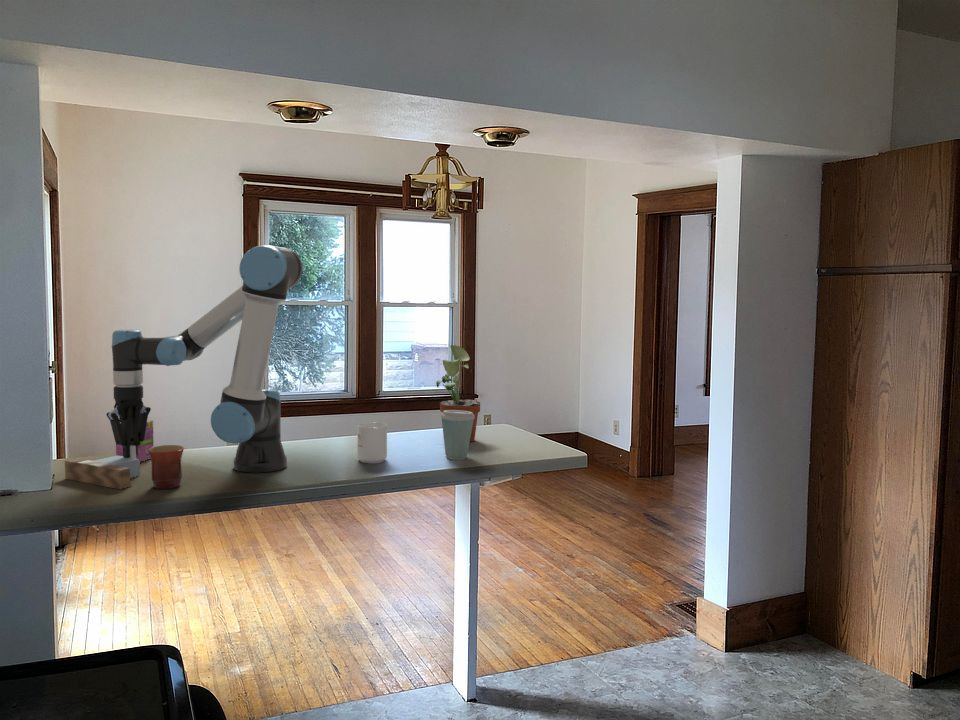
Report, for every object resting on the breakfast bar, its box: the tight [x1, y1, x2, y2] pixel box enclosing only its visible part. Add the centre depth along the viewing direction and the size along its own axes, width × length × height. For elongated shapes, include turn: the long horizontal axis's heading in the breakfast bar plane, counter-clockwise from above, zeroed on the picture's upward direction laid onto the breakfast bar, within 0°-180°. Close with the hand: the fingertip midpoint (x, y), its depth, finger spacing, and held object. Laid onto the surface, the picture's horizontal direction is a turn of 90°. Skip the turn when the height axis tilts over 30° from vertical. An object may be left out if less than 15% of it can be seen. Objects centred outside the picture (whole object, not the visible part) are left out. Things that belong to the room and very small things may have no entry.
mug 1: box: [148, 444, 185, 490], centre depth 207 cm, size 12×9×10 cm
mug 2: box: [357, 421, 388, 464], centre depth 239 cm, size 12×9×11 cm
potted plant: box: [435, 344, 481, 443], centre depth 268 cm, size 16×15×35 cm
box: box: [115, 419, 155, 463], centre depth 233 cm, size 10×6×12 cm, turn 168°
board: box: [64, 458, 131, 490], centre depth 208 cm, size 22×3×5 cm, turn 63°
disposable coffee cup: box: [440, 410, 475, 461], centre depth 243 cm, size 11×11×15 cm
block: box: [93, 455, 141, 479], centre depth 214 cm, size 9×8×5 cm
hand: (130, 468), depth 219 cm, fingers closed
